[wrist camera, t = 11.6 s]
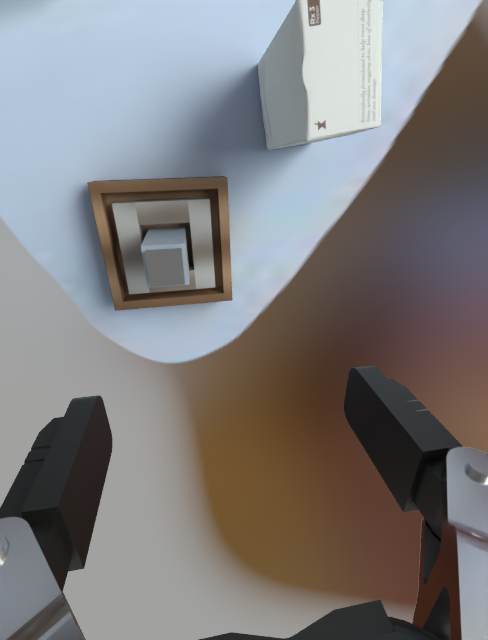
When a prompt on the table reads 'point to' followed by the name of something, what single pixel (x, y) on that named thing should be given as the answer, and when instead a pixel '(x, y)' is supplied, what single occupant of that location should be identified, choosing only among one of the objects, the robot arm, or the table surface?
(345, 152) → the table surface
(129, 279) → the walnut box
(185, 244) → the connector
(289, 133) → the skincare box
